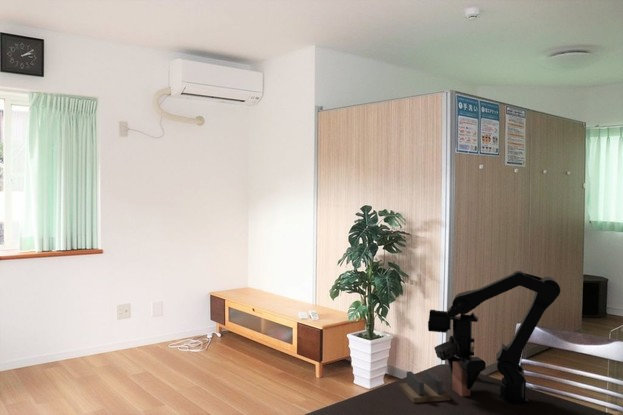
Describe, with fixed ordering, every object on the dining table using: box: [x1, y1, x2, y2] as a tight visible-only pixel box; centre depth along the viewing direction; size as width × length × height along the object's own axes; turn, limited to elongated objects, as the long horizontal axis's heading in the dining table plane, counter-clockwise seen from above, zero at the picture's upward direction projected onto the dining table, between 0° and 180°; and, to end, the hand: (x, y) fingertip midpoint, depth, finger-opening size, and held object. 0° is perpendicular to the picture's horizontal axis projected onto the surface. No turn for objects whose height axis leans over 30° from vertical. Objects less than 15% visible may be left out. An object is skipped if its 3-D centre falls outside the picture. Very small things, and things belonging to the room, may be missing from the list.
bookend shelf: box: [398, 370, 452, 404], centre depth 161 cm, size 12×12×6 cm
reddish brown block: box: [451, 361, 471, 398], centre depth 162 cm, size 3×6×9 cm, turn 12°
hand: (461, 383), depth 162 cm, fingers open, 9 cm apart
